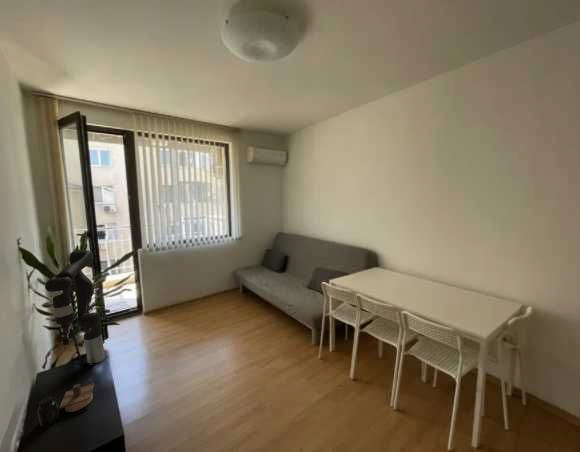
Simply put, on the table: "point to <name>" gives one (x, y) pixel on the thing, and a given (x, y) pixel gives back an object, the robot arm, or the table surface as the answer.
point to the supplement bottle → (48, 412)
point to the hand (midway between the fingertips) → (68, 340)
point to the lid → (77, 395)
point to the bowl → (79, 405)
